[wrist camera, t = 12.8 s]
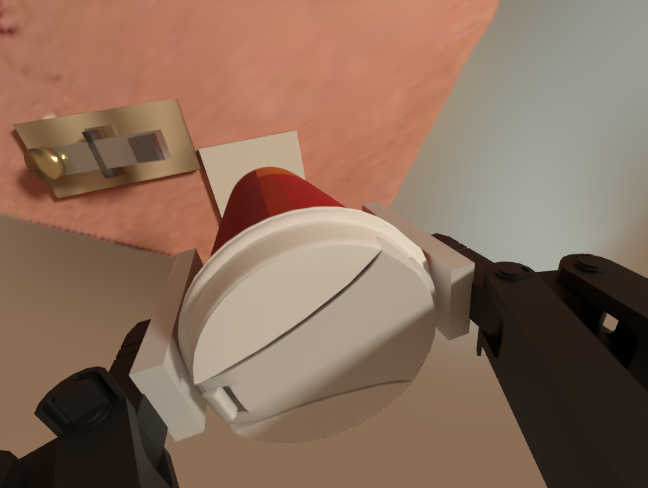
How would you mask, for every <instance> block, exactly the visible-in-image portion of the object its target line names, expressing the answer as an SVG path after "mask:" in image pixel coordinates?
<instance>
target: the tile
mask: <svg viewBox="0 0 648 488" xmlns="http://www.w3.org/2000/svg"><path fill="white" fill-rule="evenodd" d="M199 152H200V155H201V158H202V161H203V164H204V167H205V170H206V173H207V176H208V179H209V182H210V184H211V187H212V190H213V193H214V196H215V199H216V202H217V205H218V208H219V211H220V214H221V217H222V218H223V214H224V211H225V208H226V205H227V202H228V200H229V197H230V194H231V192H232V190H233V188H234V187H235V185H236V184H237V182H238V181H239V180H240V179H241V178H242V177H243V176H244V175H246V174H247V173H249V172H251V171H253V170H255V169H258V168H262V167H278V168H282V169H285V170H288V171H290V172H292V173H294V174H296V175H298V176H299V177H301V178H302V179H304V180H305V175H304V169H303V164H302V158H301V153H300V147H299V142H298V136H297V131H296V130H292V131H287V132H282V133H277V134H272V135H266V136H261V137H256V138H251V139H245V140H240V141H235V142H230V143H224V144H219V145H214V146H209V147H204V148H199Z"/></svg>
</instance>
